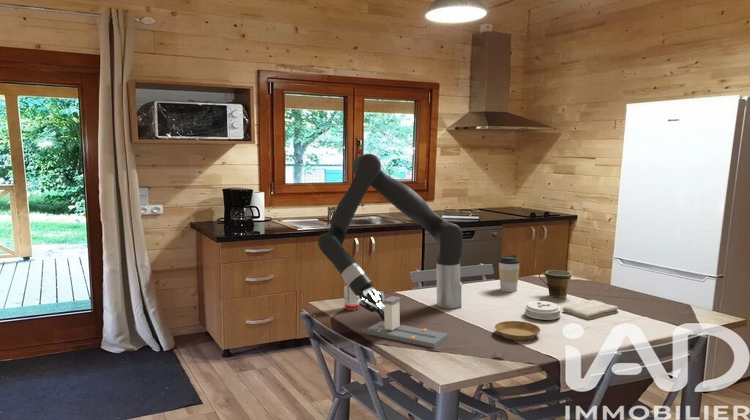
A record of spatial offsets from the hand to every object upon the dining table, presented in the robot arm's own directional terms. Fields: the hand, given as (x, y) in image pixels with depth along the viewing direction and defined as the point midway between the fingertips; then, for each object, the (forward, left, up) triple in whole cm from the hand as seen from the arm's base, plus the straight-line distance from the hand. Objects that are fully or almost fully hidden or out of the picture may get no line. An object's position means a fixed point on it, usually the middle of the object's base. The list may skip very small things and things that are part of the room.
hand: (387, 318), depth 180 cm
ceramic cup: (-72, -37, -5) cm, 81 cm away
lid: (-58, -12, -5) cm, 59 cm away
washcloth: (-78, -15, -5) cm, 79 cm away
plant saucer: (-43, +6, -5) cm, 44 cm away
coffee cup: (-56, -48, -5) cm, 74 cm away
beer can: (+12, -28, -5) cm, 31 cm away
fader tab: (-2, +1, -3) cm, 3 cm away
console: (-6, +4, -5) cm, 9 cm away
